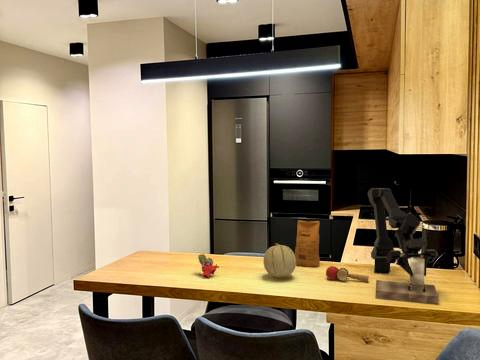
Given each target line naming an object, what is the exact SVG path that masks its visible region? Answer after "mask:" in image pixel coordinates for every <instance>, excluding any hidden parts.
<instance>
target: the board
mask: <svg viewBox="0 0 480 360" xmlns="http://www.w3.org/2000/svg"><path fill="white" fill-rule="evenodd" d="M375 299H381V300H390V301H398V302H400V301H401V302H409V303H419V304H426V305H427V304H429V305H439V301H440V300H439V294H438V291H437V289H436V286H435V285H434V284H428V283H427V284H425V283H424V289H423V292H419V291H410V282H403V281H393V280H391V281H390V280H380V279H375Z"/></svg>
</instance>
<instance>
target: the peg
mask: <svg viewBox="0 0 480 360" xmlns="http://www.w3.org/2000/svg"><path fill="white" fill-rule="evenodd" d="M424 260H425V259H424V258H421V257H411V258H410V261H409V262H410V263H409V265H410V267H411V270H412V273H413V276H412V277H411V276H410V275H409V283H410V291H419V292H423V289H424V284H425V276H424Z"/></svg>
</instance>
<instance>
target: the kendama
mask: <svg viewBox="0 0 480 360" xmlns="http://www.w3.org/2000/svg"><path fill="white" fill-rule="evenodd" d="M325 276H326V278H327V279H328V280H329V281H330V280H331V281H336V280H340V281H346V280H347V278H349V279H353V280H355V281H360V282H362V283H369V277H370V276H369V275H364V274H358V273H350V272H349V270H348V269H347V268H346V267H340V268H338V267H337V266H334V265H330V266H328V267H327V268H326V270H325Z"/></svg>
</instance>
